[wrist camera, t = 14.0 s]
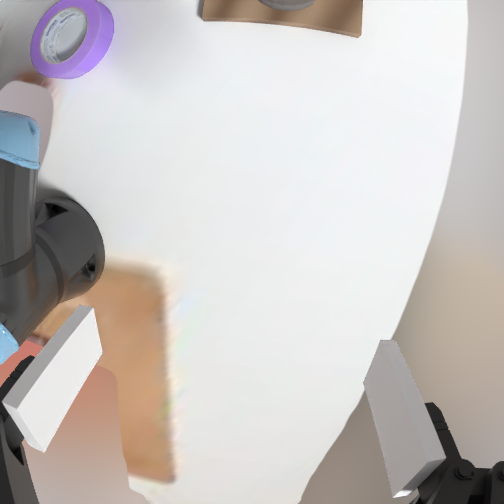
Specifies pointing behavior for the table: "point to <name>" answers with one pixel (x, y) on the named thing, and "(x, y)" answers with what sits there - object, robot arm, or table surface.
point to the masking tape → (90, 50)
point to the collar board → (291, 13)
